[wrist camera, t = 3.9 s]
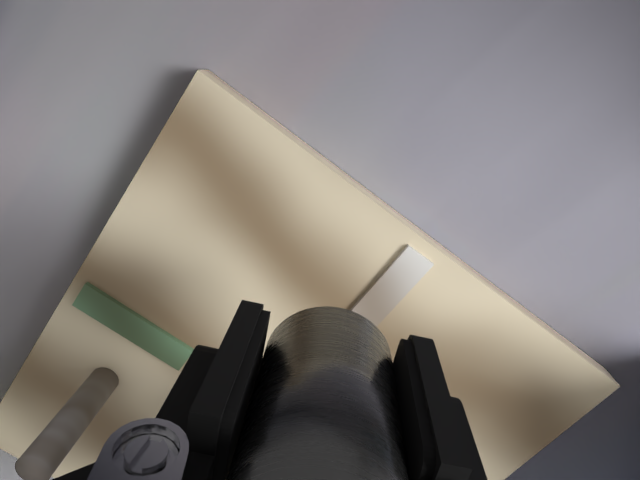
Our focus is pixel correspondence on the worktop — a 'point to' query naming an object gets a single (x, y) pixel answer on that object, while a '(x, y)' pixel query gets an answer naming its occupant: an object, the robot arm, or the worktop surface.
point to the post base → (272, 294)
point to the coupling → (323, 404)
